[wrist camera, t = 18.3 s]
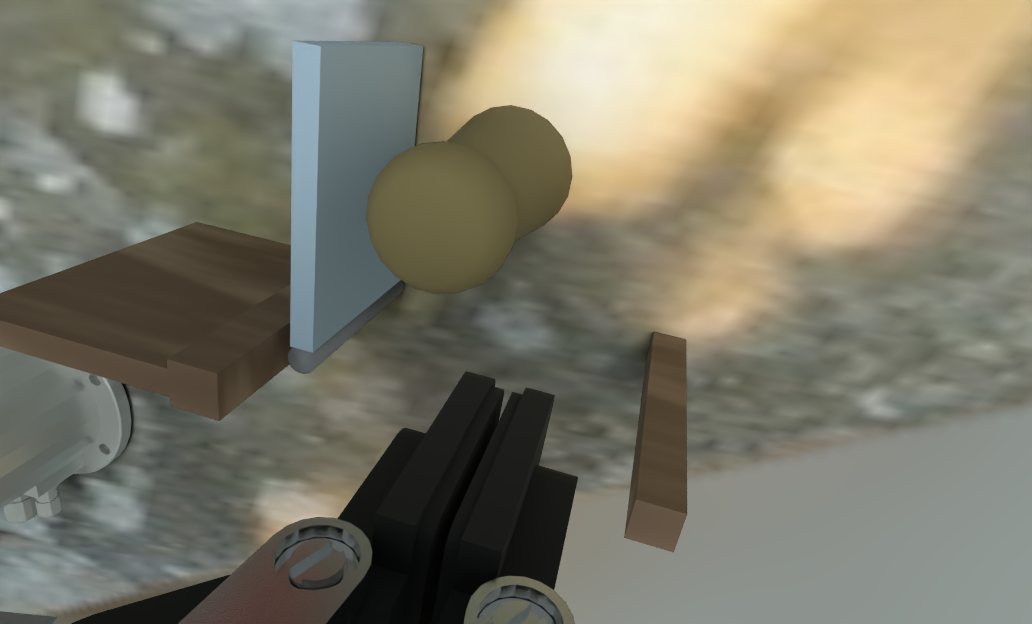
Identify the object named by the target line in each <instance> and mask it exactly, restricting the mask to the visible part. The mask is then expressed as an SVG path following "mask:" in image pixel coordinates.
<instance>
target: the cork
mask: <svg viewBox="0 0 1032 624" xmlns="http://www.w3.org/2000/svg"><path fill="white" fill-rule="evenodd" d="M571 180H572V169H571V158H570V154H569V152H568V149H567V147H566V145H565V142H564V140H563V137H562V136H561V135H560V134H559V132H558V131H557V130H556V129H555V128H554V127H553V125H552V124H551V123H550V122H549V121H548V120H547V119H545V118H543V117H542V116H540V115H538V114H537V113H535V112H534V111H532V110H529V109H525V108H520V107H516V106H512V105H510V106H502V107H493V108H490V109H488V110H486V111H484V112H482V113H480V114H478V115H476V116H474V117H473V118H472V119H471V120H469V121H468V122H467V123H466V124H465V125H464V126H463V127H462V128H461V129H460V130H459V131H458V132H457V133H455V134H454V135H453V136H452V137H451V138H450V139H449V140H448V141H447V142H445V141H442V142H433V143H423V144H419V145H416V146H414V147H412V148H410V149H408V150H406V151H404V152H402V153H400V154H398V155H396V156H394V158H393V159H392V160H391V161H390V162H389V163H388V164H387V165H386V166H385V167H384V168H383V169H382V170H381V172H380V173H379V174H378V176H377V177H376V179H375V181H374V184H373V186H372V188H371V191H370V193H369V195H368V201H367V213H366V221H367V226H368V231H369V235H370V240H371V243H372V245H373V247H374V248H375V250H376V252H377V254H378V256H379V258H380V260H381V261H382V262H383V263H384V265H385V266H386V267H387V268H388V269H389V270H390V271H391V272H392V273H393V274H394V275H395V276H396V277H397V278H399V279H401V280H402V281H404V282H405V283H407V284H409V285H410V286H412V287H414V288H415V289H419V290H423V291H426V292H430V293H434V294H451V293H459V292H462V291H465V290H467V289H470V288H473V287H475V286H478V285H480V284H483V283H484V282H485V281H486V280H487V279H488V278H490V277H491V276H492V275H493V274H494V273H495V272H497V271H498V270H499V268H500V267H501V266H502V265H503V263H504V261H505V259H506V258H507V256H508V254H509V252H510V251H511V249H512V247H513V244H514V241H515V240H517V239H519V238H521V237H522V236H524V235H526V234H528V233H530V232H532V231H534V230H536V229H537V228H539V227H541V226H543V225H545V224H546V223H547V222H548V221H549V220H550V219H551V218H553V217H554V216H555V215H556V214H557V213H558V212H559V210H560V209H561V207H562V205H563V204H564V202H565V200H566V199H567V197H568V193H569V189H570V184H571Z"/></svg>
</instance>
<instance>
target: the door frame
mask: <svg viewBox="0 0 1032 624" xmlns="http://www.w3.org/2000/svg"><path fill="white" fill-rule="evenodd" d="M290 297H291V246H290V245H286V244H282V243H278V242H274V241H270V240H266V239H262V238H258V237H254V236H250V235H246V234H242V233H237V232H233V231H229V230H225V229H221V228H217V227H213V226H209V225H205V224H201V223H197V222H196V223H193V224H190V225H188V226H185V227H182V228H179V229H177V230H174V231H171V232H168V233H166V234H163V235H160V236H157V237H154V238H152V239H149V240H146V241H143V242H141V243H138V244H135V245H132V246H130V247H127V248H124V249H121V250H119V251H116V252H113V253H110V254H108V255H105V256H102V257H99V258H96V259H94V260H91V261H88V262H85V263H83V264H80V265H77V266H74V267H72V268H69V269H66V270H63V271H61V272H58V273H55V274H52V275H50V276H47V277H44V278H41V279H39V280H36V281H33V282H30V283H27V284H25V285H22V286H19V287H16V288H14V289H11V290H8V291H5V292H3V293H0V347H3V348H6V349H10V350H13V351H16V352H20V353H23V354H26V355H30V356H33V357H37V358H40V359H43V360H47V361H50V362H53V363H57V364H60V365H63V366H67V367H70V368H73V369H77V370H80V371H84V372H87V373H90V374H94V375H97V376H100V377H104V378H107V379H110V380H114V381H117V382H120V383H124V384H127V385H131V386H134V387H137V388H141V389H144V390H147V391H151V392H154V393H157V394H161V395H164V396H167V397H170V404H171V407H174V408H178V409H181V410H184V411H188V412H191V413H194V414H198V415H201V416H204V417H208V418H211V419H214V420H218V421H220V420H221V419H222V418H223V417H225V416H226V415H227V414H228V413H230V412H231V411H232V410H233V409H235V408H236V407H237V406H238V405H240V404H241V403H242V402H243V401H245V400H246V399H247V398H248V397H249V396H251V395H252V394H253V393H254V392H256V391H257V390H258V389H259V388H261V387H262V386H263V385H264V384H266V383H267V382H268V381H269V380H271V379H272V378H273V377H274V376H276V375H277V374H278V373H279V372H280V371H282V370H283V369H284V368H285V367H287V366H288V365H289V361H288V353H289V351H290V350H291V349H292V348H293V347H290ZM686 516H687V392H686V340H685V339H681V338H677V337H673V336H669V335H665V334H661V333H657V332H654V334H653V337H652V341H651V344H650V348H649V351H648V355H647V359H646V365H645V374H644V382H643V390H642V398H641V406H640V414H639V422H638V431H637V439H636V447H635V455H634V463H633V471H632V479H631V488H630V496H629V504H628V512H627V520H626V529H625V536H624V537H625V538H627V539H631V540H634V541H638V542H641V543H644V544H647V545H651V546H654V547H658V548H661V549H664V550H667V551H671V552H674V550H675V547H676V544H677V541H678V538H679V536H680V533H681V530H682V527H683V524H684V522H685V519H686Z"/></svg>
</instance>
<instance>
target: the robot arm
mask: <svg viewBox="0 0 1032 624" xmlns="http://www.w3.org/2000/svg"><path fill="white" fill-rule="evenodd" d="M503 396H504V389H500V388H496V387H495V379H493V378H489V377H486V376H482V375H478V374H475V373H471V372H465V373H464V375H463V376H462V378H461V379H460V381H459V382H458V384H457V386H456V387H455V389H454V390H453V392H452V394H451V395H450V397H449V398H448V400H447V401H446V403H445V405H444V406H443V408H442V409H441V411H440V412H439V414H438V416H437V417H436V419H435V420H434V422H433V423H432V425H431V427H430V428H429V430H428V431H427V433H422V432H419V431H415V430H412V429H408V428H403V429H402V430H401V431H400V432H399V433H398V434H397V436H396V437H395V438H394V440H393V441H392V443H391V444H390V445H389V447H388V448H387V450H386V451H385V453H384V454H383V455H382V457H381V458H380V460H379V461H378V462H377V464H376V465H375V467H374V468H373V469H372V471H371V472H370V474H369V475H368V477H367V478H366V479H365V481H364V482H363V484H362V485H361V486H360V488H359V489H358V491H357V492H356V493H355V495H354V496H353V498H352V499H351V501H350V502H349V503H348V505H347V506H346V508H345V509H344V510H343V512H342V513H341V515H340V516H339V517H338V519H336V518H325V517H316V518H310V519H304V520H300V521H298V522H295V523H293V524H290V525H288V526H286V527H284V528H283V529H282V530H280V531H279V532H277V533H276V534H275V535H273V536H272V537H271V538H270V539H269V540H268V541H267V542H266V543H265V544H264V545H262V546H261V547H260V548H259V549H258V550H257V551H256V552H255V553H254V554H253V555H252V556H251V557H249V558H248V559H247V560H246V561H245V562H244V563H243V564H242V565H241V566H240V567H239V568H238V569H236V570H235V571H234V572H233V573H232V574H231V575H227V576H224V577H220V578H217V579H213V580H210V581H207V582H203V583H200V584H196V585H193V586H189V587H186V588H183V589H179V590H176V591H172V592H169V593H166V594H162V595H159V596H155V597H152V598H149V599H145V600H142V601H138V602H135V603H131V604H128V605H124V606H121V607H118V608H114V609H111V610H107V611H104V612H101V613H97V614H94V615H91V616H89V617H86V618H84V619H81V620H79V621H76V622H74V623H72V624H575V623H574V617H573V615H572V613H571V611H570V609H569V608H568V606H567V604H566V602H565V601H564V600H563V599H562V598H561V597H560V596H559V595H558V594H557V593H556V592H555V591H554V588H555V583H556V579H557V574H558V569H559V565H560V560H561V555H562V550H563V546H564V541H565V536H566V531H567V526H568V522H569V517H570V513H571V508H572V503H573V499H574V494H575V489H576V484H577V479H578V477H576V476H573V475H569V474H566V473H562V472H559V471H555V470H552V469H548V468H545V467H541V466H539V462H540V458H541V454H542V449H543V445H544V441H545V437H546V432H547V428H548V424H549V420H550V415H551V411H552V407H553V402H554V397H555V395H553V394H549V393H545V392H541V391H538V390H534V389H530V388H527V387H526V388H525V390H524V392H523V395H522V394H519V393H515V392H512V394H511V396H510V398H509V400H508V403H507V405H506V407H505V409H504V411H503V413H502V416H501V418H500V420H499V417H500V412H501V407H502V402H503ZM130 430H131V415H130V406H129V402H128V399H127V396H126V392H125V389H124V387H123V385H122V383H120V382H117V381H114V380H110V379H107V378H104V377H100V376H97V375H94V374H90V373H87V372H84V371H80V370H77V369H73V368H70V367H67V366H63V365H60V364H57V363H53V362H50V361H47V360H43V359H40V358H37V357H33V356H30V355H26V354H23V353H20V352H16V351H13V350H10V349H6V348H3V347H0V510H1V509H2V508H3V509H4V513H5V518H6V521H8V522H10V523H20V522H25V521H27V520H29V519H31V518H33V517H34V516H35V515H36V514H37V513H38V515H39V516H40V517H45V518H47V517H52V516H54V515H56V514H58V513H59V512H60V511H61V501H60V496H59V492H58V491H57V486H58V485H59V484H60V483H61V482H62V481H63V480H65V479H66V478H68V477H69V476H71V475H72V474H87V473H91V472H96V471H98V470H100V469H101V468H103V467H105V466H107V465H108V464H109V463H111V462H112V461H113V460H114V459H116V458H117V457H118V456H120V454H121V453H122V451H123V450H124V449H125V447H126V445H127V442H128V440H129V437H130ZM0 624H58V618H57V617H52V616H41V615H31V614H21V613H11V612H1V611H0Z"/></svg>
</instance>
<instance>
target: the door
mask: <svg viewBox="0 0 1032 624" xmlns="http://www.w3.org/2000/svg"><path fill="white" fill-rule="evenodd" d="M422 57H423V46H421V45H416V44H410V43H405V42H355V41H293V70H292V183H291V297H290V347H293V348H292V349H291V350H290V351H289V353H288V361H289V364H290V365H291V367H292V368H293V369H294V370H296V371H297V372H299V373H303V374H307V373H310V372H311V371H313V370H314V369H315V368H316V367H317V366H318V365H319V364H321V363H322V362H323V361H324V360H325V359H326V358H327V357H329V356H330V355H331V354H332V353H333V352H334V351H335V350H337V349H338V348H339V347H340V346H341V345H342V344H343V343H345V342H346V341H347V340H348V339H349V338H350V337H351V336H353V335H354V334H355V333H356V332H357V331H358V330H359V329H361V328H362V327H363V326H364V325H365V324H366V323H367V322H369V321H370V320H371V319H372V318H373V317H374V316H375V315H377V314H378V313H379V312H380V311H381V310H382V309H384V308H385V307H386V306H387V305H388V304H389V303H390V302H392V301H393V300H394V299H395V298H396V297H397V296H398V295H400V294H401V293H402V291H403V289H404V284H403V281H402V280H401V279H399V278H397V277H396V276H395V275H394V274H393V273H392V272H391V271H390V270H389V269H388V268H387V267H386V266H385V265H384V263H383V262H382V261H381V260H380V258H379V256H378V254H377V252H376V250H375V248H374V247H373V245H372V243H371V240H370V235H369V231H368V226H367V221H366V213H367V201H368V195H369V193H370V191H371V188H372V186H373V184H374V181H375V179H376V177H377V176H378V174H379V173H380V172H381V170H382V169H383V168H384V167H385V166H386V165H387V164H388V163H389V162H390V161H391V160H392V159H393V158H394V156H396V155H398V154H400V153H402V152H404V151H406V150H408V149H410V148H412V147H414V146H415V135H416V124H417V113H418V101H419V90H420V79H421V68H422Z"/></svg>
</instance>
